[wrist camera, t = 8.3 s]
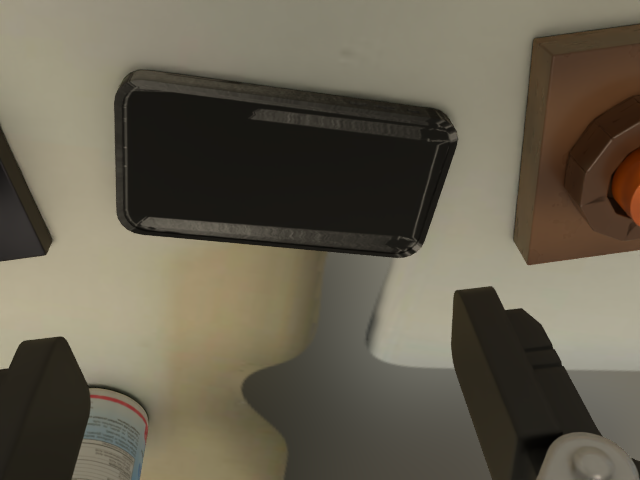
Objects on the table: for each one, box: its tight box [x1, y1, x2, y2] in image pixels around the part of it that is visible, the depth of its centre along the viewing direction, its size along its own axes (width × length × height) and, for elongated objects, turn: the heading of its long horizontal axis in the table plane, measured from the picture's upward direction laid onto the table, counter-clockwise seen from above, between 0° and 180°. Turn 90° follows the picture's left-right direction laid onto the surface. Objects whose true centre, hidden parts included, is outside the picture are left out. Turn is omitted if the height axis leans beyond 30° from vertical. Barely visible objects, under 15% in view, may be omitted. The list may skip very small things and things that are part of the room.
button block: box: [514, 24, 640, 265], centre depth 28 cm, size 11×9×4 cm
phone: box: [114, 70, 458, 258], centre depth 28 cm, size 8×1×15 cm
